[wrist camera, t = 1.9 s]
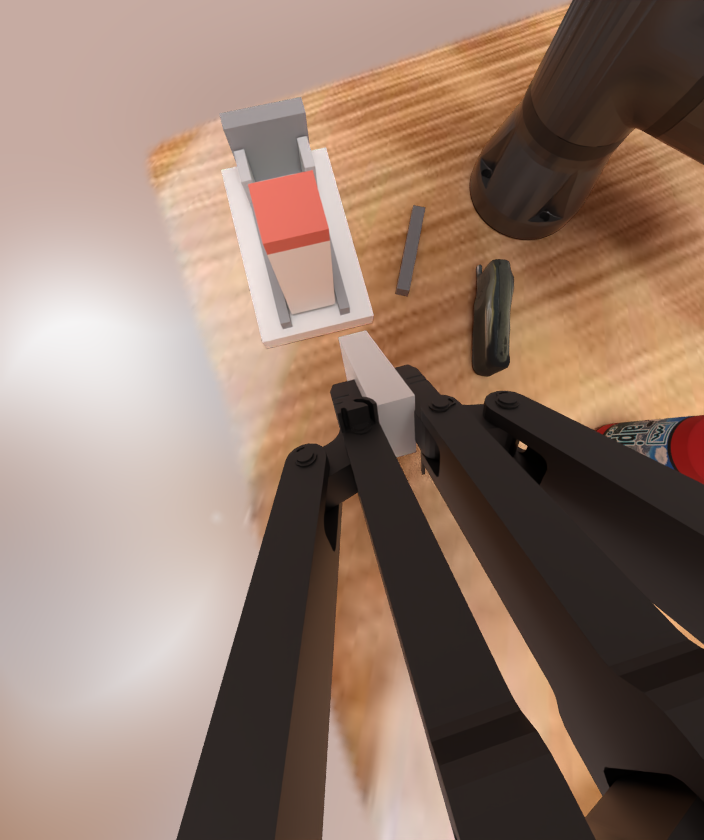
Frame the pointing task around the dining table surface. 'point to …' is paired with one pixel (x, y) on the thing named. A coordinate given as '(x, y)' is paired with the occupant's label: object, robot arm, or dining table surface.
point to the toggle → (296, 239)
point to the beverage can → (665, 442)
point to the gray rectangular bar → (410, 251)
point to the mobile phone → (492, 318)
